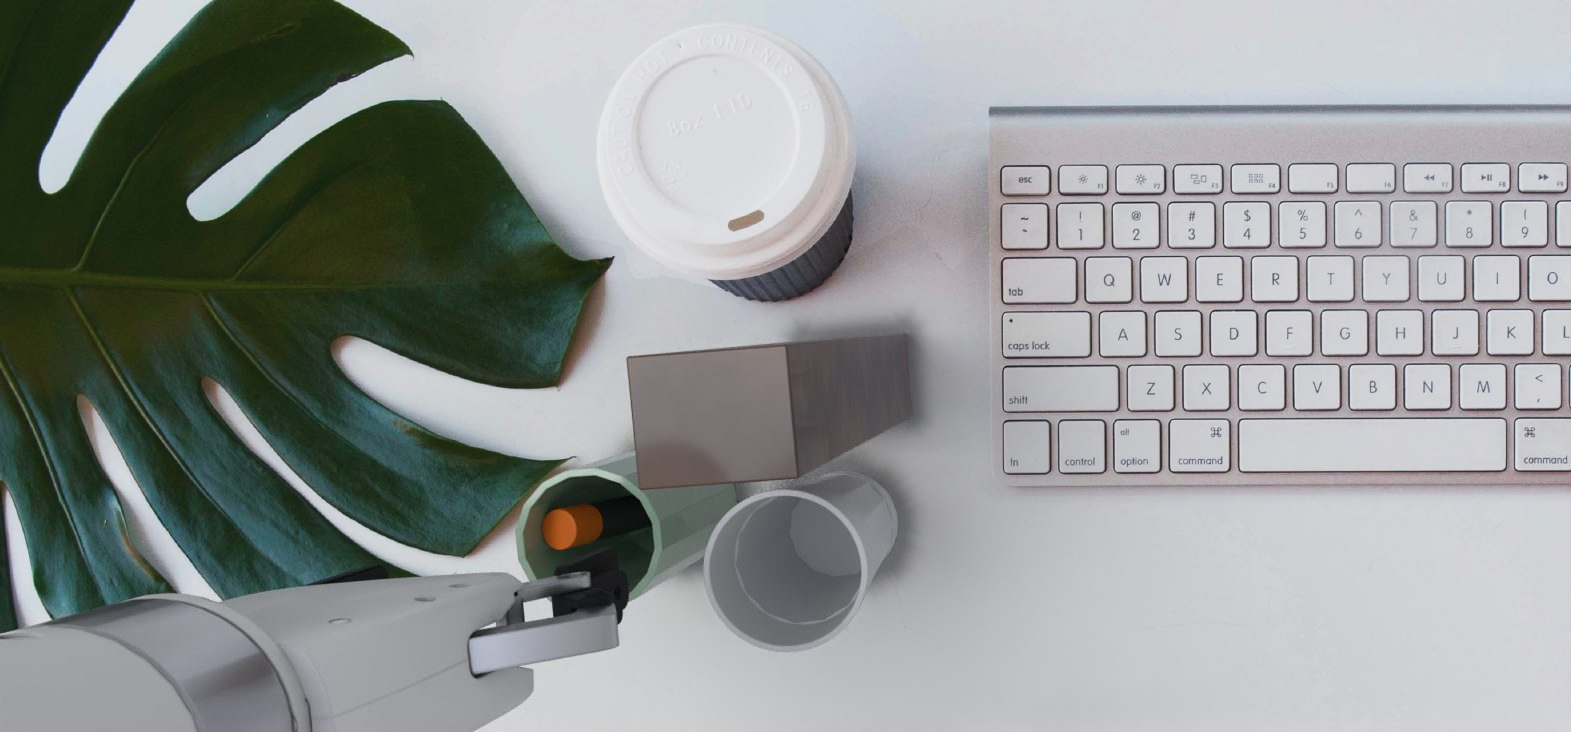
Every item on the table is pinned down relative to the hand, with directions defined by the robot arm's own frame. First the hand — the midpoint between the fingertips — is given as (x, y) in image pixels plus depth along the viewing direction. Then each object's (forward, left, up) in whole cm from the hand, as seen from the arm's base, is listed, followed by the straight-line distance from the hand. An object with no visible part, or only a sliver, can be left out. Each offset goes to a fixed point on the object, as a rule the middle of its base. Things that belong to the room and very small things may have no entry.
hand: (498, 592), depth 45 cm
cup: (-2, -10, -19) cm, 22 cm away
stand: (+7, -11, -19) cm, 23 cm away
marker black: (0, 0, -18) cm, 18 cm away
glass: (0, 0, -19) cm, 19 cm away
